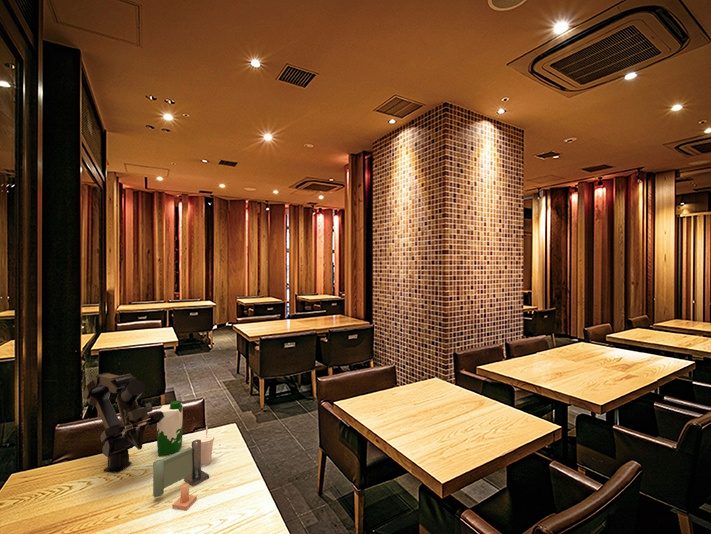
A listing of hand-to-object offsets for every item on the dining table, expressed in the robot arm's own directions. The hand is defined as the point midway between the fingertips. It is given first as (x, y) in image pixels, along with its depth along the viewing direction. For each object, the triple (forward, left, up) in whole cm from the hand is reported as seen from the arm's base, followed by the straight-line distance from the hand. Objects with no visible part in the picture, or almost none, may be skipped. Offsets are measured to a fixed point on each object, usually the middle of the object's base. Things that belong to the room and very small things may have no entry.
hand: (140, 449), depth 120 cm
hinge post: (+17, +6, -13) cm, 22 cm away
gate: (+14, -1, -11) cm, 18 cm away
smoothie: (+14, +17, -13) cm, 25 cm away
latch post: (+22, -6, -13) cm, 26 cm away
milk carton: (-6, +22, -13) cm, 26 cm away
